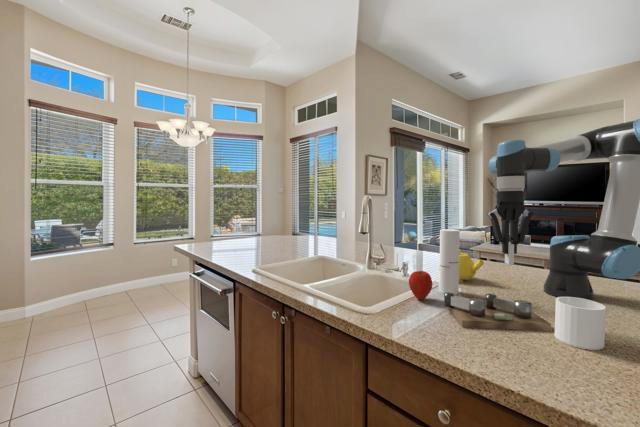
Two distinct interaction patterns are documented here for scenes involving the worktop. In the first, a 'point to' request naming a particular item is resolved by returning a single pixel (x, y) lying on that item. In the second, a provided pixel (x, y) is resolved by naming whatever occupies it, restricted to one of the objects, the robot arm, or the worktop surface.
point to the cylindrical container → (449, 261)
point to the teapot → (467, 267)
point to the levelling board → (499, 320)
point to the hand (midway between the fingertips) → (509, 263)
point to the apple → (420, 284)
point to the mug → (580, 322)
